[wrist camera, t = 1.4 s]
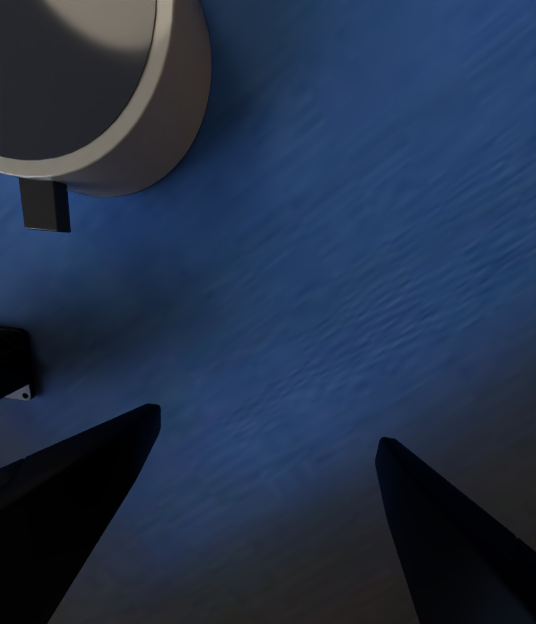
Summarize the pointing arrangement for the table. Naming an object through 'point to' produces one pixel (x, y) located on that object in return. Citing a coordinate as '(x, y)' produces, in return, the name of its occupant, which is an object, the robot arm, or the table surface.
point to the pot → (97, 97)
